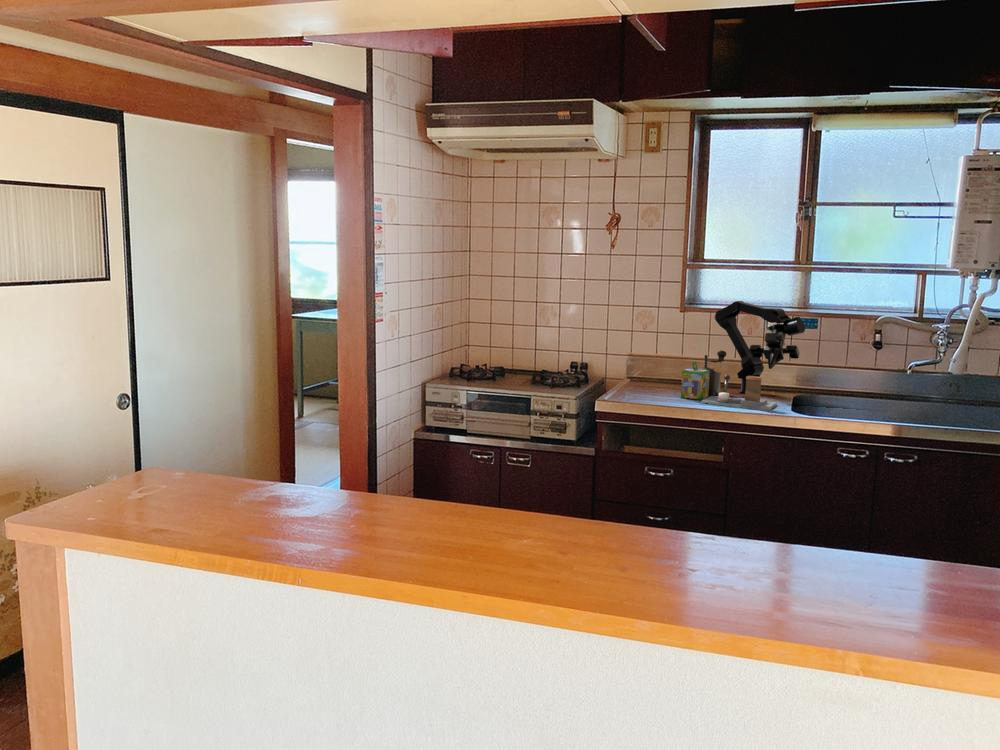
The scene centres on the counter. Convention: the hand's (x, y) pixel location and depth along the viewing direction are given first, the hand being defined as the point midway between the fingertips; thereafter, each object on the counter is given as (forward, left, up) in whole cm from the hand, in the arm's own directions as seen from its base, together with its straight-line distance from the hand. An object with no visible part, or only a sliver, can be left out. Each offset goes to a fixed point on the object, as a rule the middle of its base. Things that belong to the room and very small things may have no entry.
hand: (769, 368), depth 340 cm
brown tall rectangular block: (+16, -2, -12) cm, 21 cm away
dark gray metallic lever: (+11, -15, -11) cm, 21 cm away
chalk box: (+9, -27, -14) cm, 32 cm away
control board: (+13, -8, -14) cm, 20 cm away
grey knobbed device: (-5, -26, -14) cm, 30 cm away
